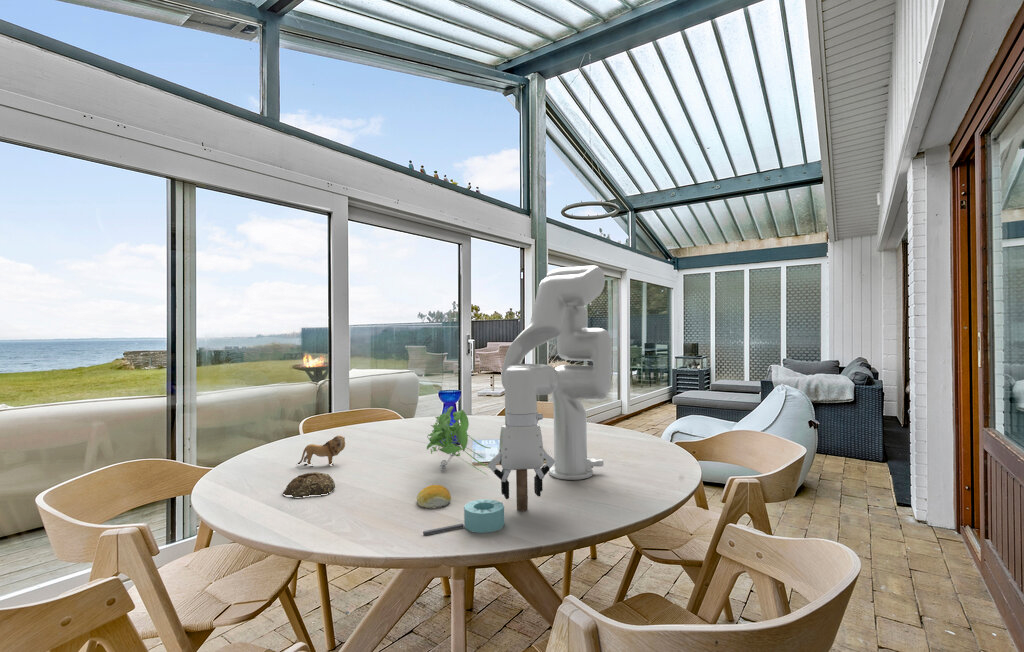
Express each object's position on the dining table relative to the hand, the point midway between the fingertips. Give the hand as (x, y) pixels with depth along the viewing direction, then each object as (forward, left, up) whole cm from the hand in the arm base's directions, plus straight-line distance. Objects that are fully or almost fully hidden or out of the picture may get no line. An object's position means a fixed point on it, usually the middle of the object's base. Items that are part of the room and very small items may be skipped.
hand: (522, 495), depth 114 cm
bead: (+10, +7, -3) cm, 13 cm away
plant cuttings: (+11, -37, -4) cm, 39 cm away
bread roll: (+20, -10, -4) cm, 22 cm away
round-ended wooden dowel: (0, 0, -3) cm, 3 cm away
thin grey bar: (+19, +8, -3) cm, 21 cm away
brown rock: (+52, -27, -4) cm, 59 cm away
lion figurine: (+53, -53, -4) cm, 75 cm away
